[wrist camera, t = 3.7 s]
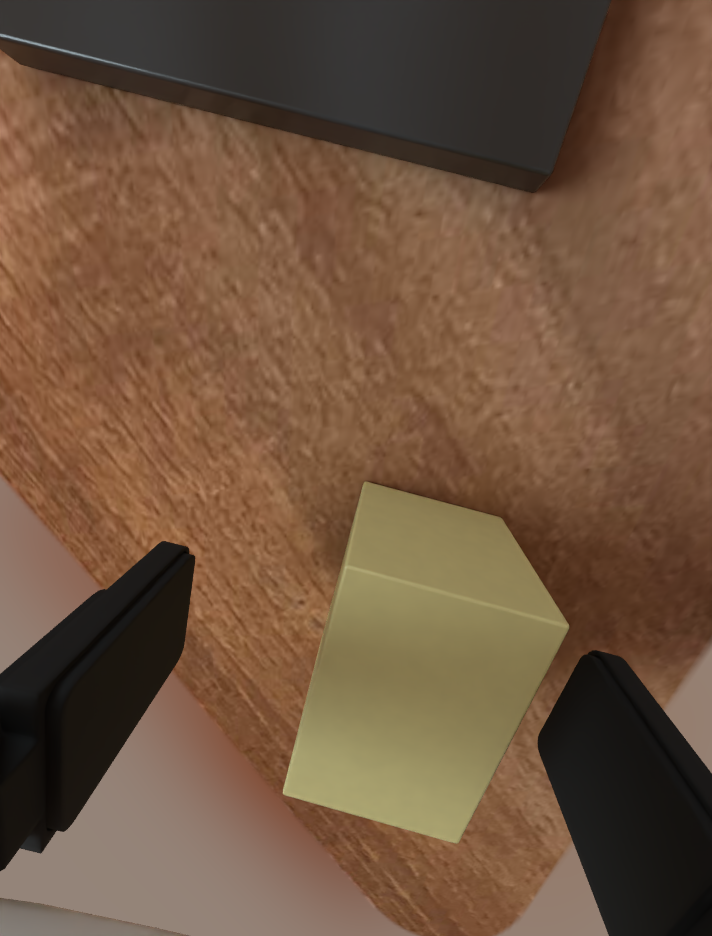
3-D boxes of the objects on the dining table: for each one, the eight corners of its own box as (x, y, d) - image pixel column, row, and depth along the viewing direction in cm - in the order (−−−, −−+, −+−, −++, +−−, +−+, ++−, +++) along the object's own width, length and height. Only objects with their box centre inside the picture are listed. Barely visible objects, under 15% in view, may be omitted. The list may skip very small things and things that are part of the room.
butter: (502, 517, 11) (571, 626, 7) (437, 678, 13) (458, 846, 8) (364, 480, 11) (344, 565, 7) (319, 645, 13) (281, 795, 8)
